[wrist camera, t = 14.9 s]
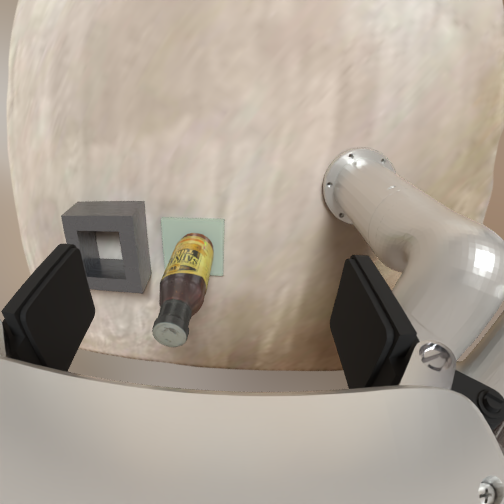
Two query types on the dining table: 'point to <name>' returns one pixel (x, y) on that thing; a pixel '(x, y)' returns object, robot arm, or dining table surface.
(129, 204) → the collar
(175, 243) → the mat
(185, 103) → the dining table surface
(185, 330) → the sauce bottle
